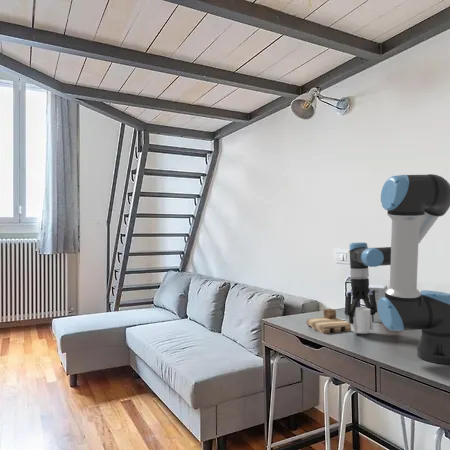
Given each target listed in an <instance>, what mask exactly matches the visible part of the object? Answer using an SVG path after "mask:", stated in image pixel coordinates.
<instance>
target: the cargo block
mask: <svg viewBox="0 0 450 450" xmlns="http://www.w3.org/2000/svg"><path fill="white" fill-rule="evenodd" d="M323 317H324V318H326V319H335V318H337V311H336V309H333V308H326V309H325V308H324V309H323Z"/></svg>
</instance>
